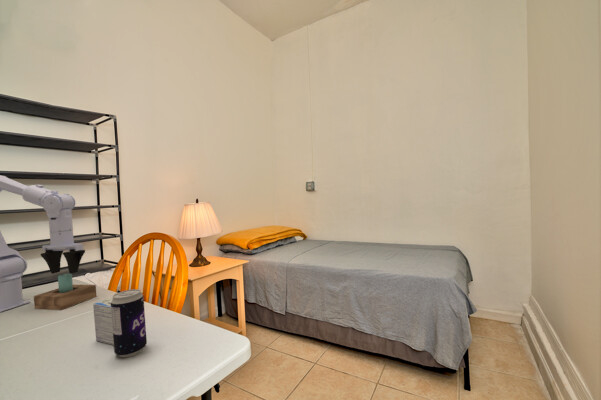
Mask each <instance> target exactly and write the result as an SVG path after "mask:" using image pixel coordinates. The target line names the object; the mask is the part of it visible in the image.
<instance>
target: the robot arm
mask: <svg viewBox="0 0 601 400" xmlns="http://www.w3.org/2000/svg"><path fill="white" fill-rule="evenodd" d="M2 191H6V192H8V193H12V194H16V195H18V196H22V200H24V201H25V202H27V203H31V204H33V205H36V206H39V207H42V208H43V210H44V211H45V212H46V216H47V218H48V227H49V239H50V240H49V241H50V243H49V244H45V245H42V247H41V249H42V252H41V253H40V256H41V258H43V260H44V261H45V262H46V264H47V266H48V269H49V270H50V271H49V272H50V273H51V274H57V273H60V272H61V262H62V261H61V259H62V256H64V258H65V260H66V264H67V269H68V273H70V274H72V275H73V274H75V273H79V267H80V264H81V261H82V258H83V256H84V254H86V250H85V249H84V244H83V243H79V242H75V240H74V227H73V215H72V214H73V213H72V212H73V211H72V210H73V209H74V208H75V207H76V199H75V198H74V197H73V196H72V195H70V194H69V193H63V194H60V193H59V191H58V190H54V189H53V190H51V189H49V188H45V186H44V185H43V184H32V185H25V184H23V183H21V182H19V181H16V180H14V179H12V178H9V177H7V176H6V175H0V193H1V192H2ZM27 269H28V263H27V260H26V259H25V258H24V257H23V256H21V254H20V253H19V251H17V250H16V249H14V248H11V247H9V246H8V244H7V242H6V240H5V238H4V236H3V233H2V232H1V230H0V313H1V312H5V311H8V310H11V309H14V308H17V307H20V306H23V305H26V304H29V303H31V300H24V298H23V297H24V296H23V295H24V294H23V285H22V283H23V282H22V277H23V276H24V273H25V272H26V271H27Z"/></svg>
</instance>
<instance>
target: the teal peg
mask: <svg viewBox="0 0 601 400" xmlns="http://www.w3.org/2000/svg"><path fill="white" fill-rule="evenodd" d="M57 282H58V283H57V285H58V288H59V293H65V292H68V291H71V290H73V285H74V283H73V273H72V274H70V273H69V272H68V273H63V274H60V275H57Z"/></svg>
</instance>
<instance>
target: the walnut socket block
mask: <svg viewBox="0 0 601 400" xmlns="http://www.w3.org/2000/svg"><path fill="white" fill-rule="evenodd" d="M96 287H97V285H96V284H73V290H71V291H68V292H65V293H59V287H58V288H55V289H51V290H49V291H46V292H43V293H39V294H36V295H34V296H33V303H34V304H33V305H34V306H33V307H34V310H55V311H56V310H58V311H61V310H66V309H68V308H70V307H74V306H76V305H78V304H80V303H84V302H86V301H88V300H92V299H94V298H96V297H97V288H96Z"/></svg>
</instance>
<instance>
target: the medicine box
mask: <svg viewBox="0 0 601 400" xmlns="http://www.w3.org/2000/svg"><path fill="white" fill-rule="evenodd" d="M112 299H113V296H111V297H109V298H105V299H103V300H100V301H97V302H95V303H93V319H94V329H95V330H94V332H95V340H96V341H97V342H100V343H105V344H108V345H113V346H114V340H113V327H112V314H111V302H112Z"/></svg>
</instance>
